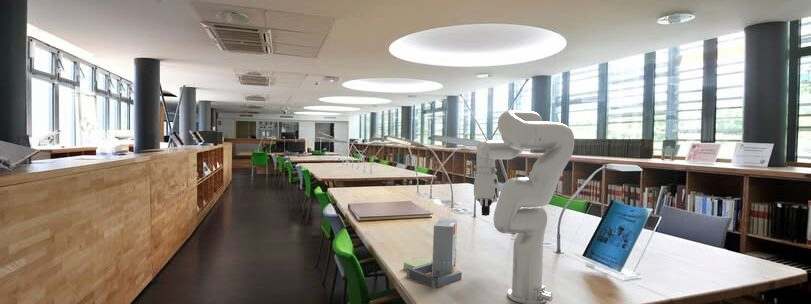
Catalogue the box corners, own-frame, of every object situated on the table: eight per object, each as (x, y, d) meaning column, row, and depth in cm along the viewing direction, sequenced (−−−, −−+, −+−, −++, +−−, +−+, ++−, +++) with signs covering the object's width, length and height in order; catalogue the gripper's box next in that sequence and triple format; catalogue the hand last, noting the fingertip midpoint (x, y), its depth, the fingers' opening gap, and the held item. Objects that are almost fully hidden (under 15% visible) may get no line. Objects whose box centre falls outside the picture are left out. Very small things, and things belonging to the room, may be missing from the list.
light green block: (433, 268, 155) (433, 261, 155) (415, 274, 149) (415, 266, 149) (421, 264, 161) (421, 257, 161) (403, 269, 154) (403, 262, 154)
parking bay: (461, 278, 144) (461, 270, 144) (434, 288, 135) (435, 279, 134) (433, 267, 155) (433, 260, 155) (406, 276, 146) (406, 268, 146)
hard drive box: (451, 279, 143) (452, 227, 142) (431, 277, 145) (432, 225, 144) (456, 266, 158) (457, 218, 157) (438, 264, 160) (439, 217, 159)
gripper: (506, 171, 155) (506, 216, 155) (476, 170, 166) (476, 212, 166) (495, 172, 150) (495, 218, 150) (466, 170, 161) (465, 214, 161)
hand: (485, 215), depth 158 cm, fingers closed
